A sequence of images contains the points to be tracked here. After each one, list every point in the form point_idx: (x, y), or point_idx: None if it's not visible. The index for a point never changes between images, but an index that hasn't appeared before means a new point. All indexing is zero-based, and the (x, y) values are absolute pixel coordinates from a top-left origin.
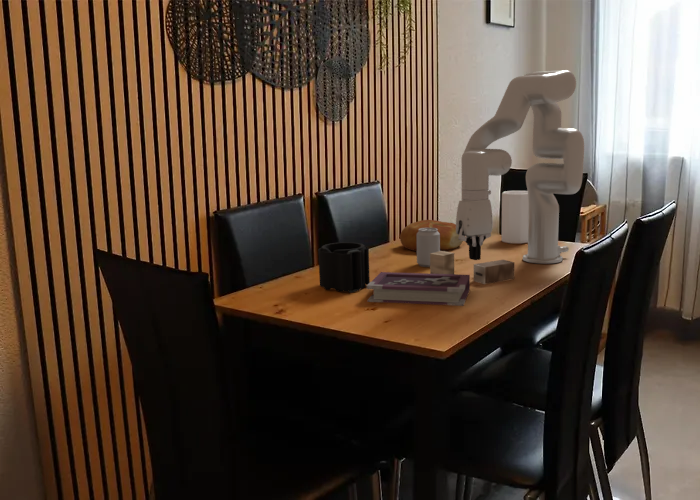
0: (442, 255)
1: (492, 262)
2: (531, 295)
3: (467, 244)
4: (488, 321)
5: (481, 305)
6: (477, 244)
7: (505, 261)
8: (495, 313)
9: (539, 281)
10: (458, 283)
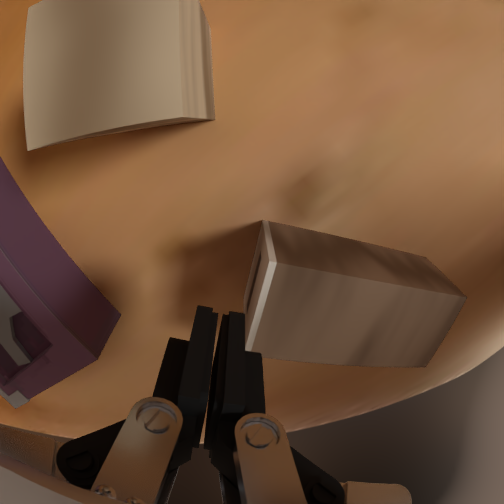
0: (26, 140)
1: (385, 308)
2: None
3: (135, 407)
4: (45, 432)
5: (70, 402)
6: (211, 458)
7: (431, 333)
8: (72, 431)
9: (396, 380)
10: (17, 380)
